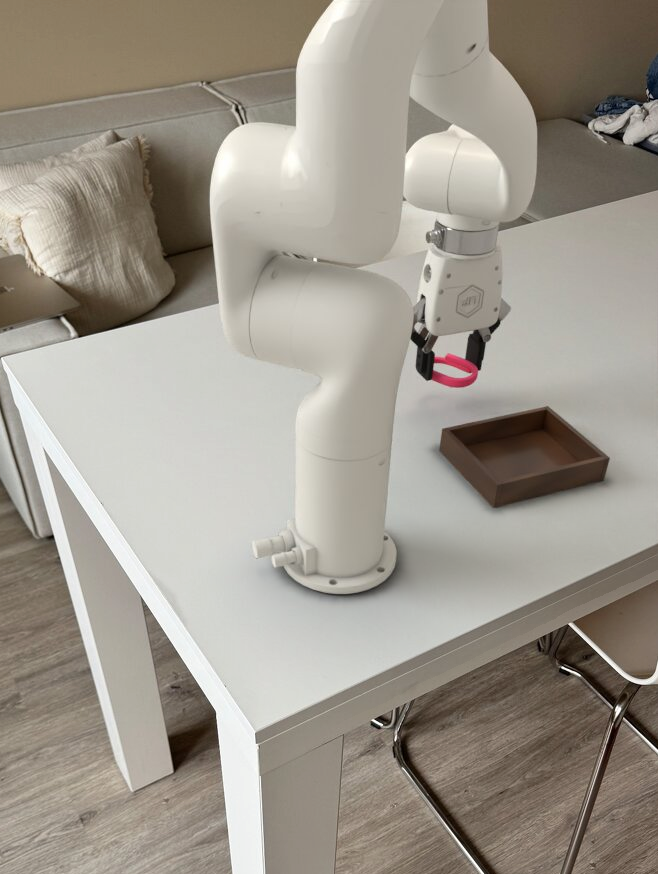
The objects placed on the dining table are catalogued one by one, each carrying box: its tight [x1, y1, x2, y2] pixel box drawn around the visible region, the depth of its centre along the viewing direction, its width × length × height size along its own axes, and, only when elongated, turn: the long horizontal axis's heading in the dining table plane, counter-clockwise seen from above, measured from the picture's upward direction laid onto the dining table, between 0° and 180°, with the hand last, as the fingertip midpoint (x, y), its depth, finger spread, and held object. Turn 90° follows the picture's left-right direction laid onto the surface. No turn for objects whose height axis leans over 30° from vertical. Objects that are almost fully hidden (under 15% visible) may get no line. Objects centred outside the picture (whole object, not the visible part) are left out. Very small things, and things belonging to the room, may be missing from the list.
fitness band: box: [430, 353, 479, 389], centre depth 119 cm, size 8×6×2 cm
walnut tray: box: [438, 405, 611, 509], centre depth 111 cm, size 16×13×3 cm
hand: (448, 370), depth 119 cm, fingers closed on fitness band, 6 cm apart
